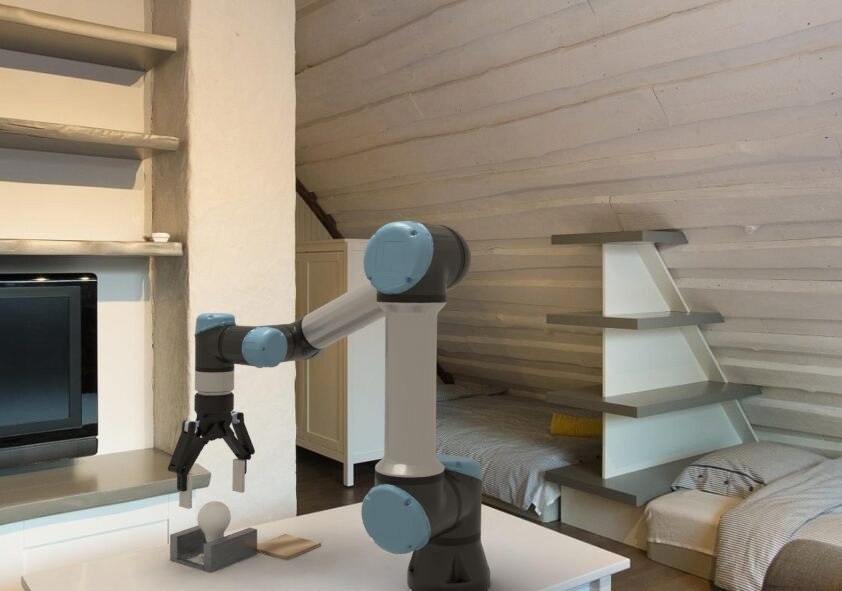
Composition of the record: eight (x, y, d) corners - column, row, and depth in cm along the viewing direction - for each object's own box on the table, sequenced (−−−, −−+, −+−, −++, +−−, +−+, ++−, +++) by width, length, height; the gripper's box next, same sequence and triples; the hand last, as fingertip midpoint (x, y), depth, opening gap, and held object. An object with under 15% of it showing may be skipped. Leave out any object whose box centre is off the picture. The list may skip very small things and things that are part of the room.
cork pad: (320, 545, 164) (320, 542, 164) (287, 559, 156) (287, 556, 156) (284, 536, 170) (284, 533, 170) (250, 549, 162) (250, 547, 161)
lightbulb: (221, 564, 154) (222, 507, 153) (191, 561, 155) (191, 505, 155) (236, 552, 160) (236, 498, 159) (206, 550, 161) (206, 496, 161)
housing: (257, 554, 159) (257, 529, 159) (210, 572, 149) (211, 546, 149) (216, 543, 165) (217, 519, 165) (170, 560, 155) (170, 534, 155)
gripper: (247, 383, 169) (245, 482, 170) (149, 397, 148) (147, 510, 149) (273, 386, 165) (271, 488, 166) (176, 402, 144) (174, 518, 145)
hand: (212, 499), depth 157 cm, fingers open, 13 cm apart
